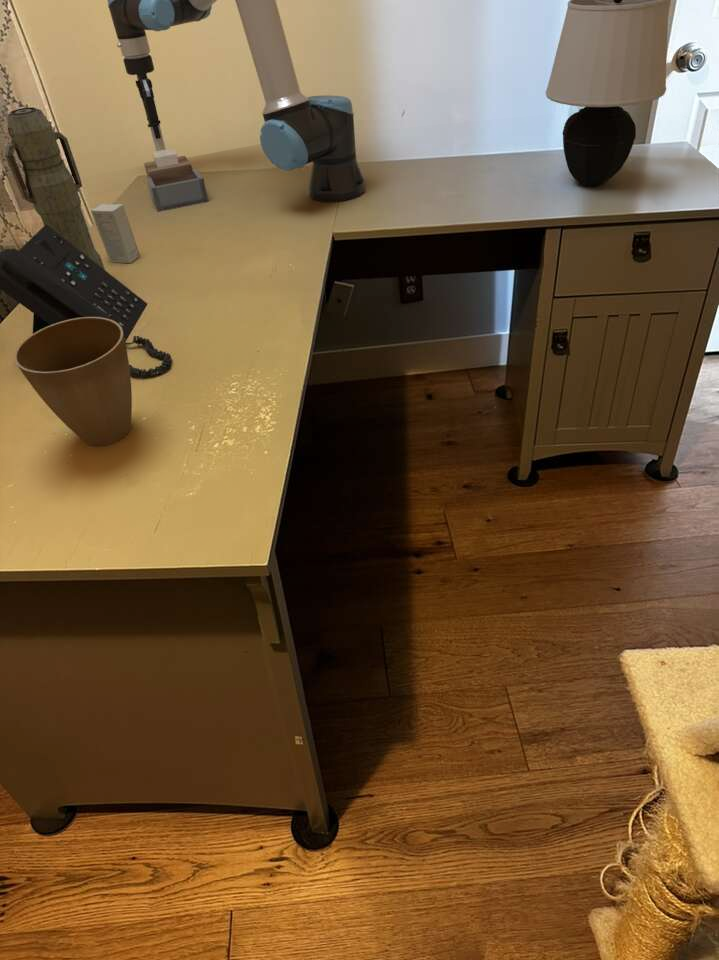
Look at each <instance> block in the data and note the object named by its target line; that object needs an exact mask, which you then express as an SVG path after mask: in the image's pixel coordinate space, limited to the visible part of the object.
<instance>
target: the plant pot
mask: <svg viewBox="0 0 719 960" xmlns="http://www.w3.org/2000/svg"><path fill="white" fill-rule="evenodd" d="M125 343H126V341H125V338H124V334H123V329H122V327H121V326H120V325H119V324H118V323H116V322H115V321H113V320H110V319H107V318H102V317H82V318H74V319H69V320H65V321H61V322H58V323H55V324H52V325H50V326H47V327H45V328H43V329H41V330H39V331H37V332H35V333H34V334H33V333H32V334H31V335H29V336H28V337H26V338H25V339H24V340H23V341H22V342H21V343H20V344H19V345H18V347H17V348H16V350H15V351H14V355H13V359H14V363H15V364H16V366H17V367H18V369H19V370H20V372H21V373H22V374H23V376H24V378H25V379H26V380H27V381H28V383H29V384H30V385H31V387H32V388H33V390H34V391H35V392H36V394H37V395H38V396H39V397H40V398H41V400H42V401H43V402H44V403H45V404H46V406H47V407H48V408H50V410H51V411H52V412H53V413H54V414H55V415H56V416H57V418H58V419H59V420H60V421H61V422H62V423H63V424H64V425H65V426H66V427H68V428H69V429H70V431H72V433H73V434H75V435H76V436H77V437H78V438H79V439H81V440H82V441H84V443H86V444H87V445H89V446H94V447H102V446H104V447H105V446H108V445H112V444H114V443H117V442H120V441H121V440H122V439H123V438H125V437H126V436H127V435H128V434H129V432H130V431H131V425H132V415H133V414H132V412H133V411H132V409H133V405H132V404H133V403H132V402H133V400H132V399H133V398H132V397H133V396H132V394H133V393H132V391H133V390H132V378H131V377H132V376H131V375H130V368H129V365H130V362H129V357H128V356H129V355H128V349H127V345H126V344H125Z"/></svg>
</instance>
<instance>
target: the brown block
mask: <svg viewBox="0 0 719 960" xmlns="http://www.w3.org/2000/svg"><path fill="white" fill-rule="evenodd" d="M177 159H178V163H179V164H173V165H168V166H163V167H157V165H156V164H155V161H154V160H152V161H148V162H143V165H144V169H145V173H146V175H147V177H151V179H152V181H153V183H154V185H155V187H156V186H161V185H166V184H171V183H176V182H182V181H187V180H192V179H194V177H193V172H192V169H193V167H192V163H191V162H190V161H189V159H188V158H187V156H186V155H181V156H177ZM147 177H146V178H147Z"/></svg>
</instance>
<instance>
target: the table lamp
mask: <svg viewBox="0 0 719 960" xmlns="http://www.w3.org/2000/svg"><path fill="white" fill-rule="evenodd" d="M669 5H670V0H568V2H567V8H566V11H565V12H566V13H565V17H564V21H563V24H562V25H563V26H562V29H561V33H560V36H559V41H558V44H557V49H556V52H555V56H554V59H553V60H554V61H553V65H552V68H551V72H550V76H549V80H548V84H547V87H546V90H545V96H546V98H547V99H548V100H550V101H552V102H553V103H558V104H562V105H567V106H574V107H582V108H579V110H578V111H577V112H574V113H572V115H570V116H568V117H567V119H566V121H565V123H564V126H563V130H562V144H563V153H564V157H565V163H566V167H567V169H568V171H569V174H570V175H571V176H572V178H573V179H574V180H575V181H576V182H577V183H578V184H580V185H584V186H588V187H589V186H599V185H602V184H605V183H606V182H607V181H609V180H610V179H612V178H613V177H614V176H615V175H616V174H617V173H619V171H620V170H621V169H622V168H623V167H624V164H625V163H626V161H627V159H628V158H629V155H630V153H631V151H632V148H633V145H634V142H635V139H636V135H637V134H636V133H637V132H636V131H637V130H636V129H637V128H636V124H635V122H634V120H633V118H632V116H631V115H630V113H629V112H627V111H626V110H624V108H623V107H627V106H635V105H640V104H644V103H645V104H646V103H649V102H652V101H656V100H658V99H660V98H661V97H663V96H664V95H665V94H666V91H667V84H666V83H667V78H666V77H667V55H668V30H669V25H668V22H669ZM583 107H584V108H583Z"/></svg>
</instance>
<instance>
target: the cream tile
mask: <svg viewBox="0 0 719 960" xmlns="http://www.w3.org/2000/svg"><path fill="white" fill-rule="evenodd" d="M151 154H152V157H153V161H155V164H156V165H157V167H163V166H168V165H173V164H179V163H178V159H177V157H178V156H177V153H176V151H175V150H174V149H173V148H171V149H166V150H160V151H155V152H152V153H151Z"/></svg>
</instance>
